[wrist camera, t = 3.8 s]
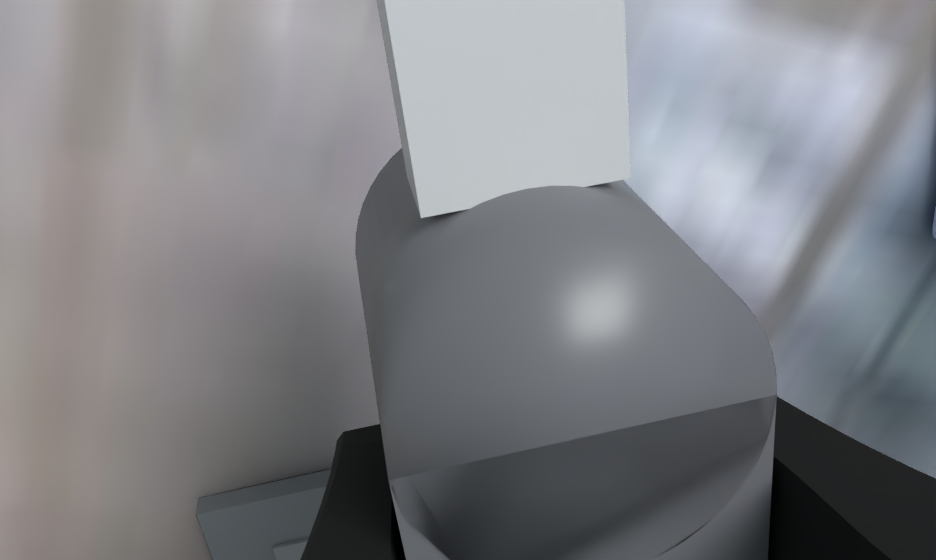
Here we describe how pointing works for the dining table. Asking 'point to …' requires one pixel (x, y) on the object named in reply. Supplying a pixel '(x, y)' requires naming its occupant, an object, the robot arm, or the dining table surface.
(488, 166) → the plug
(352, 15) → the dining table surface
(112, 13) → the dining table surface
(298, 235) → the dining table surface
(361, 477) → the robot arm
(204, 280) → the dining table surface
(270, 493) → the coaster
